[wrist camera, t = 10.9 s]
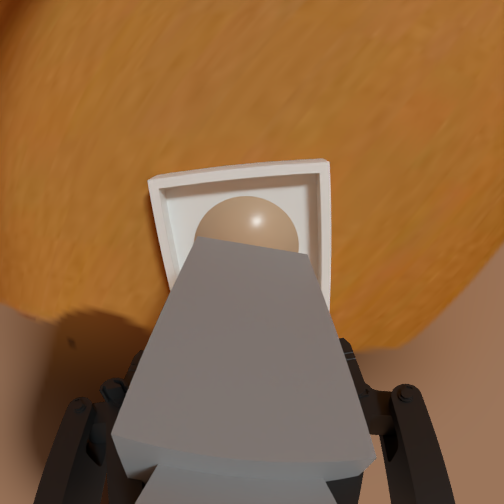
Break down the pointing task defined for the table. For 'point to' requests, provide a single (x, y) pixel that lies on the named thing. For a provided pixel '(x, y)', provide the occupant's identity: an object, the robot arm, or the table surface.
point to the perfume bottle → (242, 387)
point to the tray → (247, 211)
